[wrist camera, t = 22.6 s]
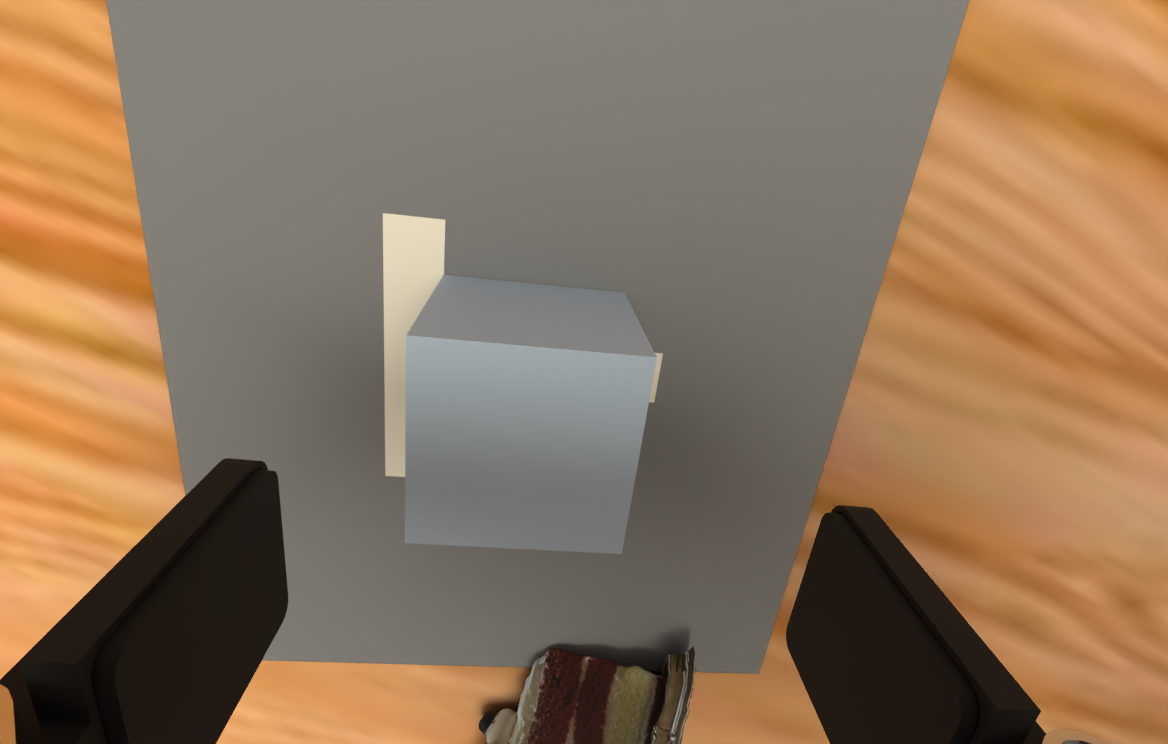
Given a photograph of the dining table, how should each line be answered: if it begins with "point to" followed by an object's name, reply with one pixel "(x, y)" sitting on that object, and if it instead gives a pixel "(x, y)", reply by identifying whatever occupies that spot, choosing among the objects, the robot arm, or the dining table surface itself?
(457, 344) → the cube
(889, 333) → the dining table surface
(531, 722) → the chocolate cake
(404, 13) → the letter mat
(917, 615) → the robot arm
